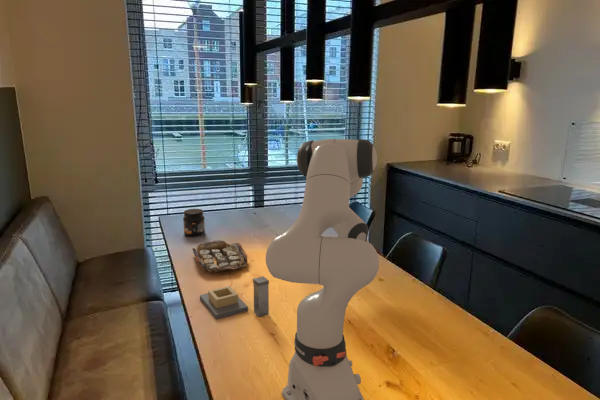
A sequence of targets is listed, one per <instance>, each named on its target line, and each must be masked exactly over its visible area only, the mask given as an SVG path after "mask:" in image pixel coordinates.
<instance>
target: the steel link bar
mask: <svg viewBox="0 0 600 400" xmlns="http://www.w3.org/2000/svg"><path fill="white" fill-rule="evenodd" d="M252 283H253V313H254V314H255V315H256V316H257V317H258V318H261V317H264V316H268V315H270V314H269V313H270V312H269V311H270V310H269V309H270V308H269V307H270V305H269V303H270V301H269V298H270V297H269V292H270V291H269V288H270V287H269V285H270V280H269V279H267V278H266V277H265V276H258V277H253V278H252Z"/></svg>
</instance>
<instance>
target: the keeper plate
mask: <svg viewBox="0 0 600 400" xmlns="http://www.w3.org/2000/svg"><path fill="white" fill-rule="evenodd" d="M199 299H200V301H201V302H202V303H203V305H204V306H205V307H206V308H207V310H208V311H209V312H210V313H211V314H212V316H213V317H214V319H216V320H219V319H222V318H227V317H231V316H234V315H238V314H242V313H245V312H248V311H249V306H248V305H247V304H246V303H245V302H244V301H243V300H242V299H241V298H240V297H239V294H238V293H237V292H236V291H235V290H234V289H233V288H232V287H231V286H229V285H227V286H224V287H219V288H214V289H210V290H208V292H207V293H203V294H200V295H199Z"/></svg>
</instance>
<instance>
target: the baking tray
mask: <svg viewBox="0 0 600 400" xmlns="http://www.w3.org/2000/svg"><path fill="white" fill-rule="evenodd" d="M191 249H192V253H193V255H194V257H195V260H196V262H197V263H198V265H199V266H201V267H203V268H204V269H205V270H207V271H208V273H210V274H211V273H212V274H216V273H219V272H220V273H221V272H224V271H225V272H226V271H233V270H237V269H242V268H243V267H245V266H248V265H249V263H248V258H249V257H248V254H247V253H246V251H245V250H244V249H243V246H242V244H241V243H240V242H233V243H231V244H230V243H227V241H224V240H219V239H218V240H215V239H214V240H209V241H208V240H207V241H205V242H202V243H199V244H198V245H196V246H195V247H192V248H191ZM201 260H202V261H201ZM214 262H216V263H214Z"/></svg>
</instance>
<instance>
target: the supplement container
mask: <svg viewBox="0 0 600 400" xmlns="http://www.w3.org/2000/svg"><path fill="white" fill-rule="evenodd" d="M182 221H183V234H184V236H186V237H188V238H190V237H191V238H193V237H194V238H195V237H201V236H203V235H204V234H205V233H206V228H205V226H206V225H205V222H206V221H205V216H204V210H203V209H201V208H200V209H199V208H189V209H186V210H184V211H183V218H182Z"/></svg>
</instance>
